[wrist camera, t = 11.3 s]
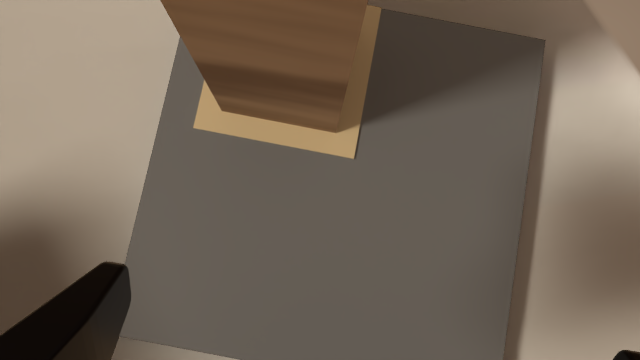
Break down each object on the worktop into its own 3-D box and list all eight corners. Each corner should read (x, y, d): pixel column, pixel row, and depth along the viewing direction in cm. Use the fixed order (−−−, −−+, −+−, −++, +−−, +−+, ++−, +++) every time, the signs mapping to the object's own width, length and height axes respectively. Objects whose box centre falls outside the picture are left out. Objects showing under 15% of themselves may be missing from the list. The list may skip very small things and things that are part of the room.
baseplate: (488, 402, 23) (497, 409, 22) (116, 330, 23) (106, 334, 22) (536, 48, 25) (546, 39, 24) (199, -16, 25) (195, -29, 24)
